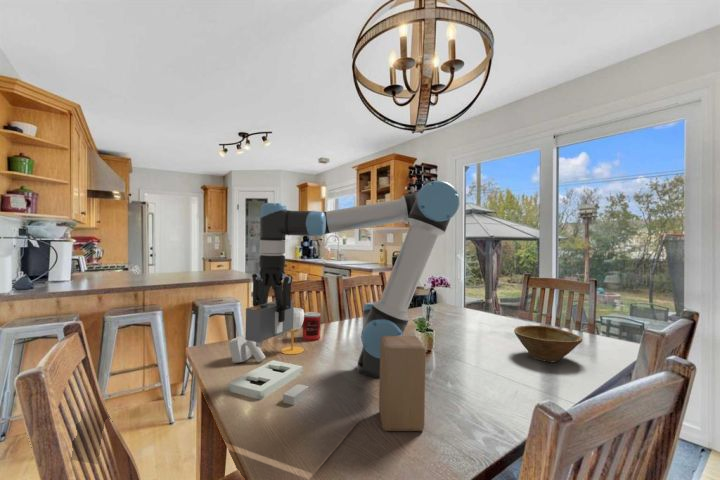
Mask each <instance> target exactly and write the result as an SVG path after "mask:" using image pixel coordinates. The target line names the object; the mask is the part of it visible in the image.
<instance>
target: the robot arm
mask: <svg viewBox="0 0 720 480" xmlns="http://www.w3.org/2000/svg"><path fill="white" fill-rule="evenodd" d="M260 207H261V208H260V217H259V222H260V223H259V224H260V225H259V254H260V255H259V260H258V261H259V268H260V270H259V272H257V273H253V274H252V275H251V277H252V281H253V284H252V285H253V287H252V288H253V289H252V307H253V306H257V305H261V304H265V303H268V302H267V301H268V298H269V294H270V289H271V288H272V290H273V293H274V297H275V298H274V299H275V301H276V305H277V310H276V312H275V334H278V333H280V332H282V327H283V321H284V320H285V317H284V316H285V310H287V309H290V308H291V301H292V300H291V299H292V298H291V297H292V296H291V295H292V283H293V278H294V277H293V276H292V275H290V276H289V275H287V274H286V273H285V270H284V269H285V267H286V256H285V253H286V236H300V237H306V236H307V237H310V236H311V237H322V236H324V235H327V234H334V233H340V232H346V231H347V232H348V231H352V230H358V229H364V228H365V229H366V228H370V227H377V226H384V225H389V224H395V223H396V224H397V223H401V222H402V223H405V224H406V225H409V228H408V231H407V232H406V235H405V238H404V241H403V243H402V245H401V247H400V249H399V252H398V254H397V256H396V257H397V258H396V260H395V262H394V265H393V267H392V269H391V272H390V274H389V276H388V280H387V282H386V283H385V284H386V285H385V286H384V290H383V292H382V294H381V296H380V299H379V300H377V301H374V302H366V303H365V304H364V305H363V310H362V313H363V315H362V316H363V317H362V319H363V320H362V328H361V329H362V331H361V334H360V338H361V339H360V340H361V343H362V349H361V352H360V353H359V358H358V361H357V368H356V369H357V370H356V371H357V373H358V374H359V375H364V376H366V377H371V378H375V379H376V378H379V379H380V339H381V337H382V336H404V333H405V331H406V328H407V326H408V323H409V320H410V317H409V314H408V312H407V311H408V309H409V306H410V304H411V302H412V299H413V297H414V295H415V292H416V289H417V287H418V284H419V282H420V280H421V277H422V275H423V273H424V271H425V267H426V265H427V262H428V260H429V258H430V255H431V253H432V250H433V248H434V246H435V244H436V241H437V238H438V237H439V236H441V235H443V234H445V233H446V230H447V228H448V225H449V223H450V220H451V219H452V218H453V217H454V216H455V215H456V213H457V212H458V210H459V207H460V195H459V193H458V191H457V190H456V188H455V186H453V185H452V184H451V183H448V182H447V181H445V180H434V181H429V182H426V183H425V184H424V185H422V186H421V187H420V189H419V190H418V191H416V192H413V193H409V194H405V195H402V196H401V197H400V198H399V199H393V200H386V201H382V202H375V203H369V204H364V205H363V204H362V205H358V206H357V205H356V206H351V207H345V208H339V209H334V210H327V211H320V210H318V211H317V210H288V209H287V205H286V204H285V203H281V202H280V203H277V202H276V203H275V202H265V203H262V204H261V206H260Z"/></svg>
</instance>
